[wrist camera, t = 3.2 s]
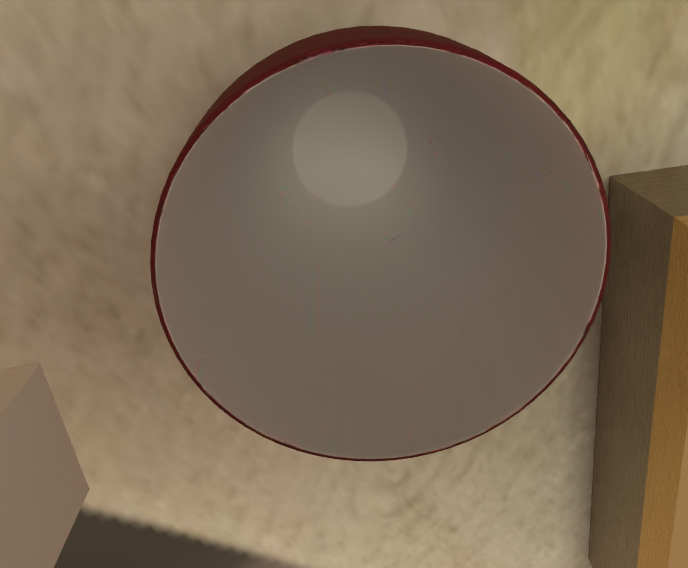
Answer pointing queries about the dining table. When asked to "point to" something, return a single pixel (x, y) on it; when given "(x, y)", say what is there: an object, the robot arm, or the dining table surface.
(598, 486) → the shallow drawer tray
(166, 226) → the mug
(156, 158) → the dining table surface
